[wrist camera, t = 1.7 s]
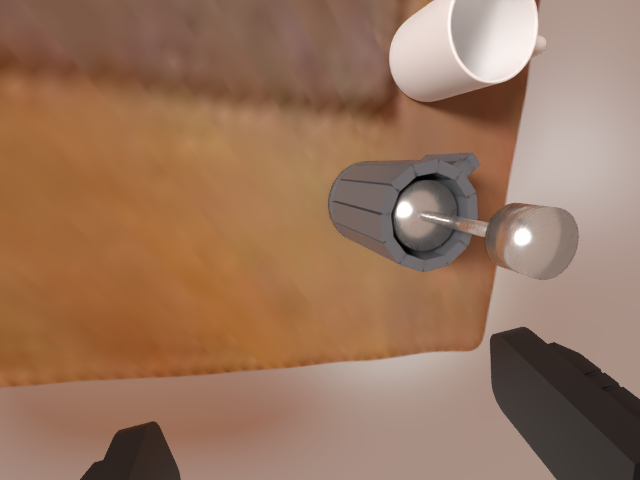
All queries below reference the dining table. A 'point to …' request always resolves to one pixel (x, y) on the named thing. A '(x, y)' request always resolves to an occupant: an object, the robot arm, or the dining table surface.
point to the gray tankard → (379, 199)
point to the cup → (463, 46)
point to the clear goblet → (488, 229)
